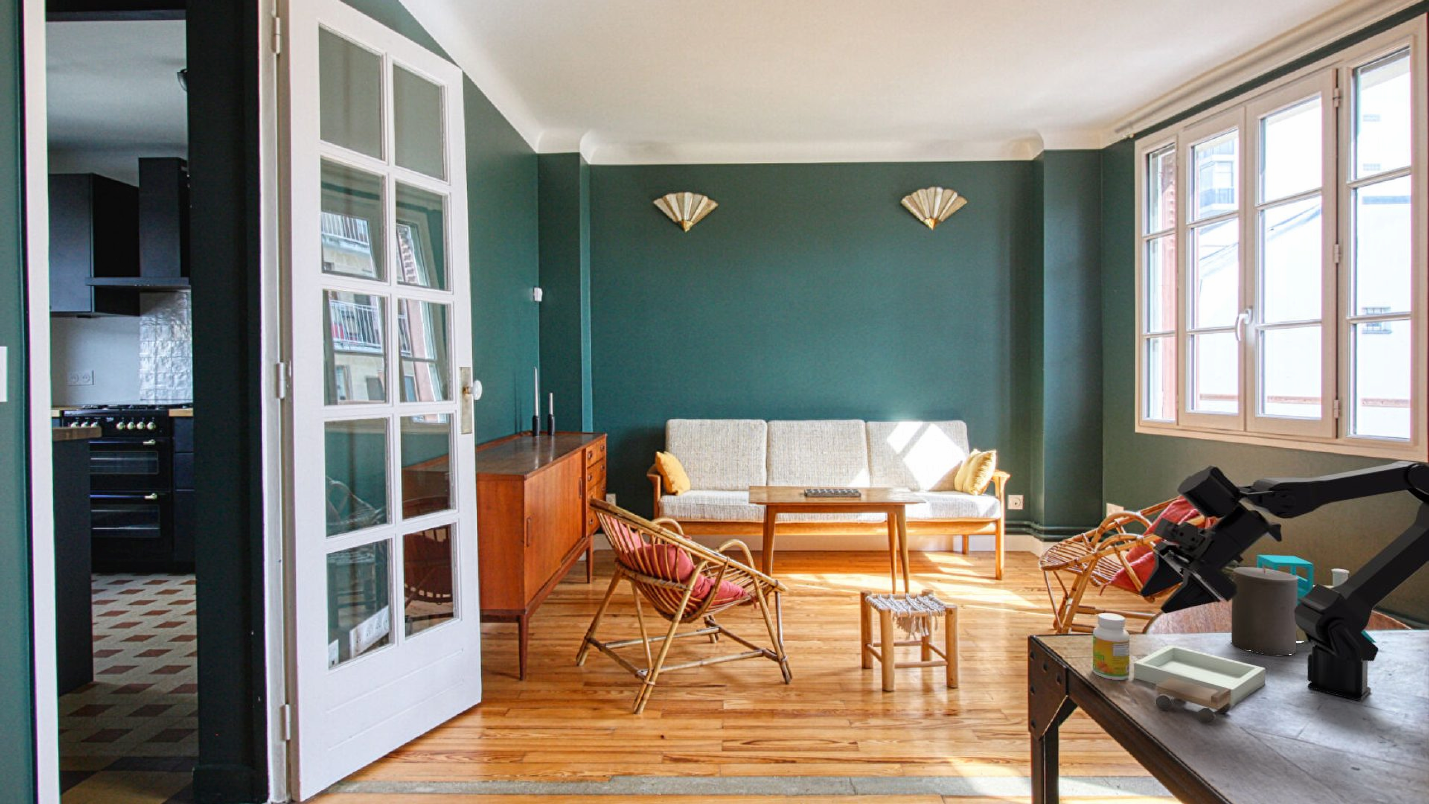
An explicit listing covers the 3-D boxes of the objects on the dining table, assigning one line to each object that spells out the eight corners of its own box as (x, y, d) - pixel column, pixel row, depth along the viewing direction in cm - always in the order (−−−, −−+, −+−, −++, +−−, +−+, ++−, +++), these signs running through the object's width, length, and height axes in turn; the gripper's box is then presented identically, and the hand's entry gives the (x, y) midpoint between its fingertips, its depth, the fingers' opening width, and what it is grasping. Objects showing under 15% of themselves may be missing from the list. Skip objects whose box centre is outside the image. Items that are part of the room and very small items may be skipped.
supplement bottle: (1085, 669, 127) (1086, 612, 126) (1116, 668, 127) (1116, 611, 127) (1105, 681, 121) (1105, 621, 121) (1136, 680, 122) (1137, 620, 121)
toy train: (1379, 649, 136) (1380, 567, 136) (1275, 643, 140) (1276, 563, 139) (1351, 635, 144) (1352, 557, 144) (1254, 629, 147) (1255, 554, 147)
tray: (1265, 683, 120) (1265, 668, 120) (1232, 706, 112) (1232, 689, 111) (1170, 658, 131) (1170, 644, 131) (1133, 677, 123) (1134, 662, 123)
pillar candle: (1232, 650, 135) (1234, 568, 135) (1229, 634, 144) (1231, 557, 143) (1300, 661, 130) (1302, 575, 130) (1292, 644, 139) (1295, 564, 138)
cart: (1232, 714, 109) (1232, 687, 109) (1215, 726, 105) (1215, 699, 105) (1172, 696, 115) (1172, 671, 115) (1153, 707, 111) (1153, 681, 111)
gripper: (1166, 494, 130) (1097, 554, 133) (1215, 511, 112) (1134, 580, 115) (1216, 541, 129) (1145, 601, 131) (1273, 566, 111) (1190, 635, 113)
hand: (1151, 603), depth 123 cm, fingers open, 9 cm apart
